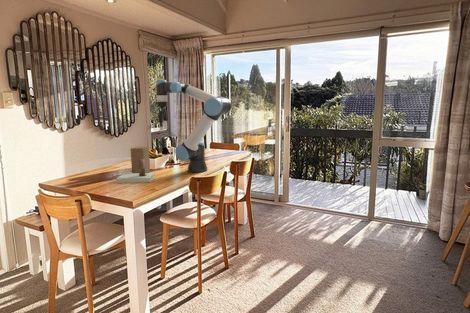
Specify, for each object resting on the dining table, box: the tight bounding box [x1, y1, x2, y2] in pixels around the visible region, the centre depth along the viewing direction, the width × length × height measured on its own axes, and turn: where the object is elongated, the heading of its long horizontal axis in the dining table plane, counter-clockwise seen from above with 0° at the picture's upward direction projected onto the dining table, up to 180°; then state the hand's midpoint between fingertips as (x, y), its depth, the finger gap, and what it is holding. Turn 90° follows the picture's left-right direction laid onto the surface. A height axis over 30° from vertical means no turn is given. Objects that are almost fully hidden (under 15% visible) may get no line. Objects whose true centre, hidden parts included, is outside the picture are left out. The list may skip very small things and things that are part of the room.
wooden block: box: [129, 145, 151, 173], centre depth 221 cm, size 10×10×20 cm
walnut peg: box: [138, 159, 145, 176], centre depth 204 cm, size 4×4×14 cm
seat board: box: [116, 172, 156, 184], centre depth 205 cm, size 22×14×3 cm, turn 91°
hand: (163, 130), depth 223 cm, fingers open, 13 cm apart
